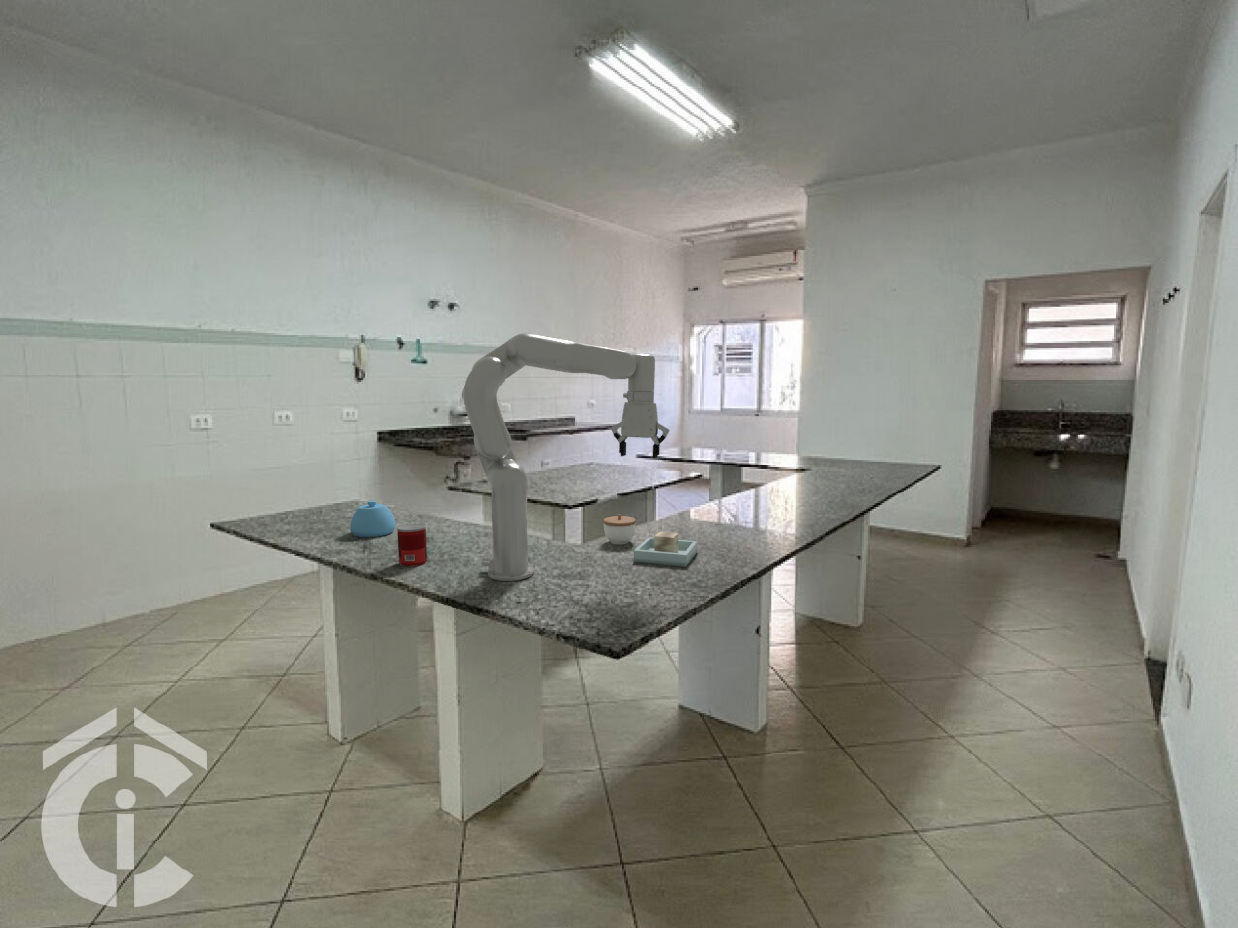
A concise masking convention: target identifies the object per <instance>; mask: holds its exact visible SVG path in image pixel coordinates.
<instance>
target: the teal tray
mask: <svg viewBox="0 0 1238 928" xmlns="http://www.w3.org/2000/svg"><path fill="white" fill-rule="evenodd" d="M697 553H698V541H697V540H686V539H678V553H671V552H659V551H654V537H646V538H645V540H643V541H642V542H641V543H640V544H639V545H638V546H636V548H635V549H634V550H633V562H634V563H641V564H643V563H644V564H654V565H665V566H673V567H674V566H675V567H684V568H685V567H688V566H689V564H690V563H691V562H692V560H693V558H695V556H696V555H697Z"/></svg>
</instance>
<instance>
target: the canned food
mask: <svg viewBox="0 0 1238 928" xmlns="http://www.w3.org/2000/svg"><path fill="white" fill-rule="evenodd" d="M396 534H397V547H398V548H397V549H398V550H397V551H398V552H397V553H398V562H399V565H401V566H402V567H403V566H404V567H417V566H421V565H424V564H426V563H427V560H428V547H427V546H428V545H427V543H428V541H427V527H426V525H425V524H423V523H408V524H403V525H402V524H401V525H399V526H398V527H397V533H396Z"/></svg>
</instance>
